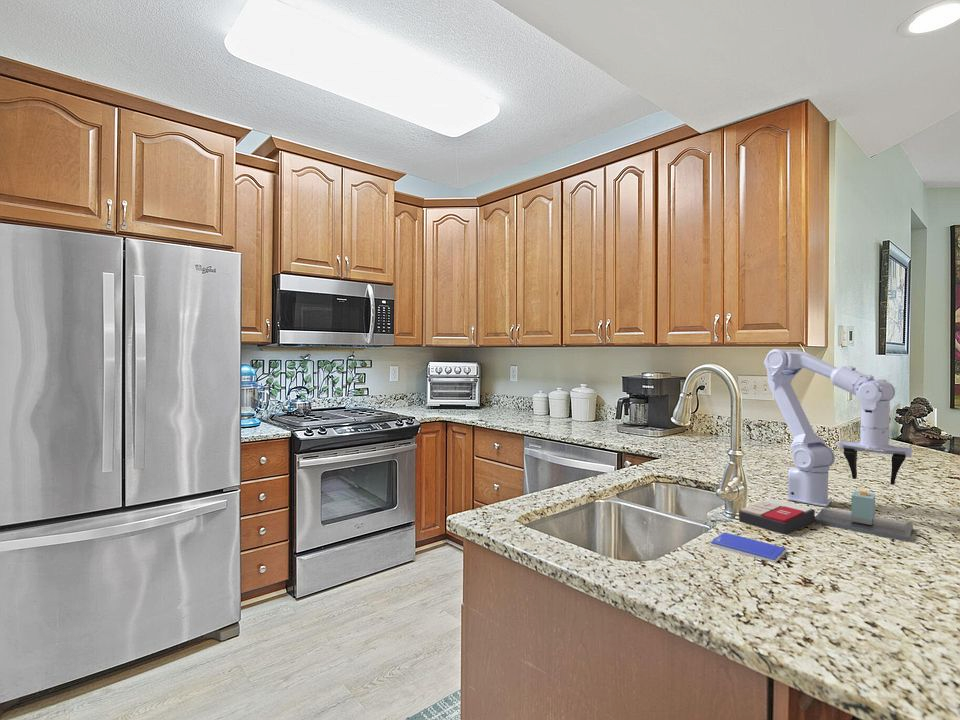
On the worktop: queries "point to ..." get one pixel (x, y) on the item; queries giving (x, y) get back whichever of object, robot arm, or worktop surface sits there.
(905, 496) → the worktop surface
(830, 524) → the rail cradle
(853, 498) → the block
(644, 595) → the worktop surface
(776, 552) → the hard drive
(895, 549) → the worktop surface
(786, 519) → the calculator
